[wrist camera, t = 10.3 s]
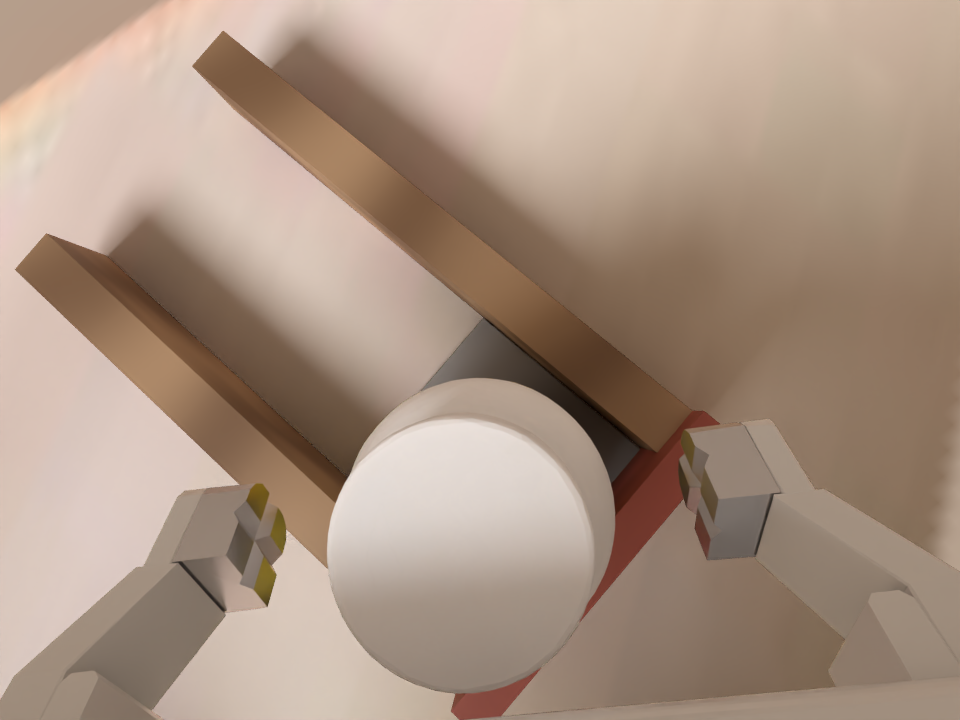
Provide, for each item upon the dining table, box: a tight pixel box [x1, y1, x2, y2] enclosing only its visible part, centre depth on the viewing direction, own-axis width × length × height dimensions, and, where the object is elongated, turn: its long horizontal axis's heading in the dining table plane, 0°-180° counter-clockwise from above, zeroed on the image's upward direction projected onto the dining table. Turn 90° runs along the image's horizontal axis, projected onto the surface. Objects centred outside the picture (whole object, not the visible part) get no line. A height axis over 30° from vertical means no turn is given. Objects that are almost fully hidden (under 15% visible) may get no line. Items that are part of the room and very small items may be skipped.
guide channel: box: [15, 31, 720, 720], centre depth 17 cm, size 20×10×4 cm, turn 49°
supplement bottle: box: [327, 378, 615, 694], centre depth 13 cm, size 5×5×10 cm
